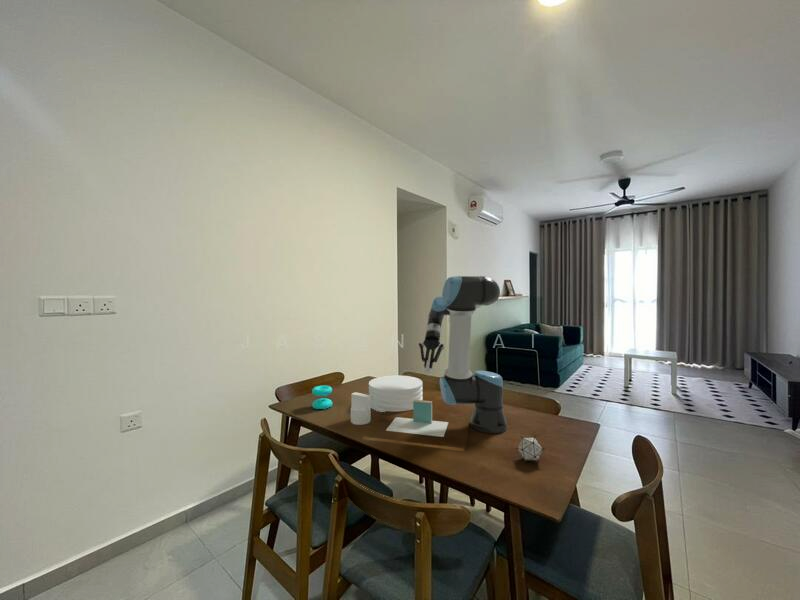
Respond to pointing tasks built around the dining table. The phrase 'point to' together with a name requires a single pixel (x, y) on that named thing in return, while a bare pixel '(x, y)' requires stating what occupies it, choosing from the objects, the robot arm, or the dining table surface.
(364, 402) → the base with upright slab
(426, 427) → the cutting board
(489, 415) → the robot arm
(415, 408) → the teal rectangular slab
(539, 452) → the game die
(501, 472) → the dining table surface
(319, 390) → the donuts
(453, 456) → the dining table surface
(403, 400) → the plate stack
